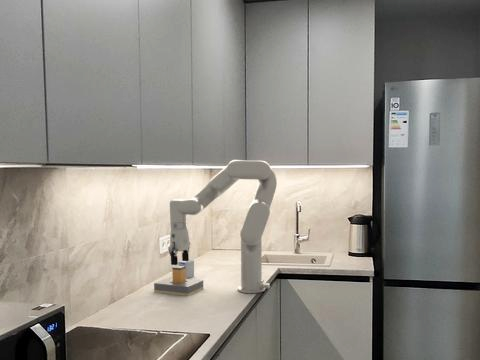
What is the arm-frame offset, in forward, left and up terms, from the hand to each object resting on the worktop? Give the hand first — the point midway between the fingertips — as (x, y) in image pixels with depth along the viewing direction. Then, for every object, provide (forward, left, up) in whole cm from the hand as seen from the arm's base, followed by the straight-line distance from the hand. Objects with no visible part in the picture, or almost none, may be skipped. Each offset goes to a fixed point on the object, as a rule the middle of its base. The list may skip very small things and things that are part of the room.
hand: (180, 262), depth 224 cm
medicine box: (+12, -25, -13) cm, 30 cm away
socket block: (+1, 0, -13) cm, 13 cm away
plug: (0, 0, -12) cm, 12 cm away
